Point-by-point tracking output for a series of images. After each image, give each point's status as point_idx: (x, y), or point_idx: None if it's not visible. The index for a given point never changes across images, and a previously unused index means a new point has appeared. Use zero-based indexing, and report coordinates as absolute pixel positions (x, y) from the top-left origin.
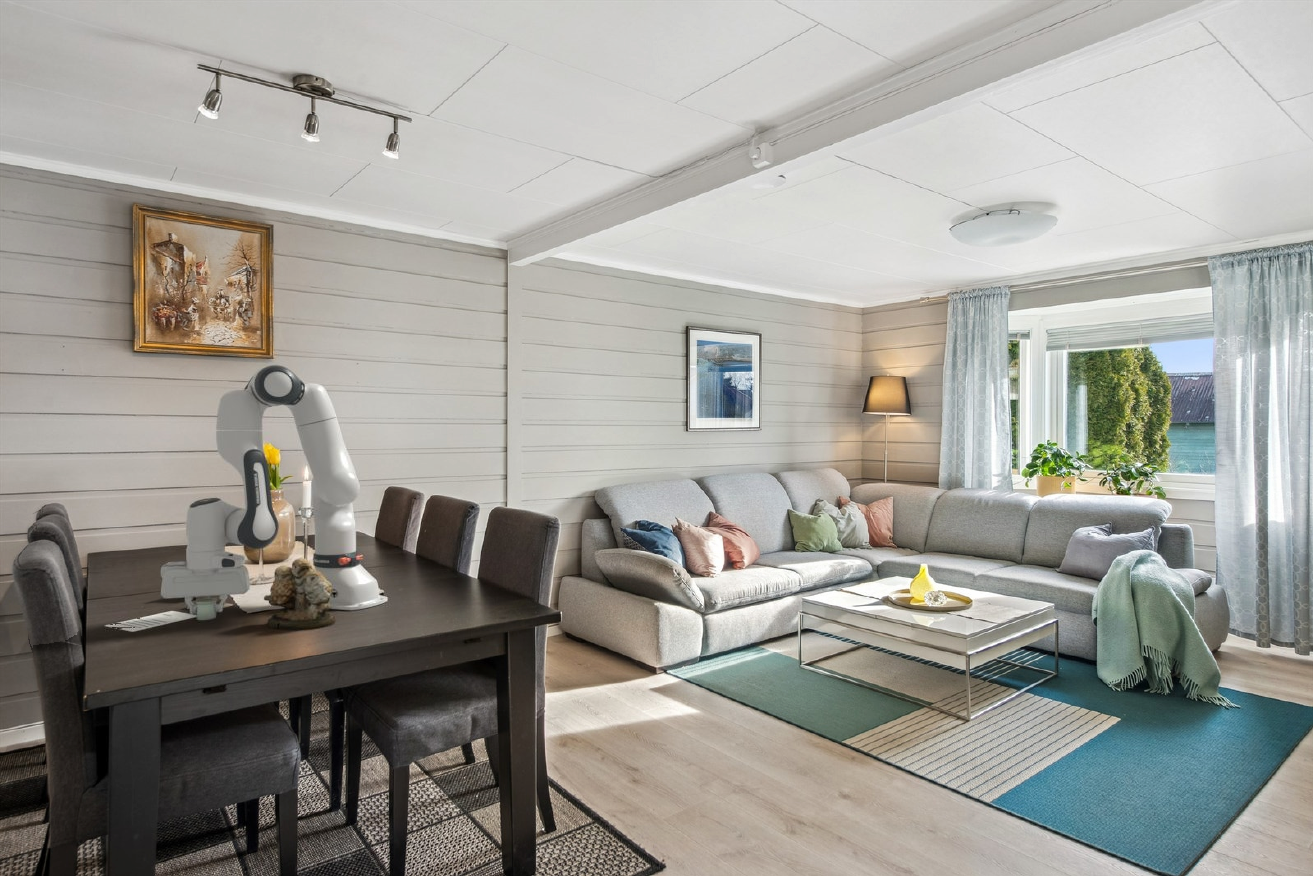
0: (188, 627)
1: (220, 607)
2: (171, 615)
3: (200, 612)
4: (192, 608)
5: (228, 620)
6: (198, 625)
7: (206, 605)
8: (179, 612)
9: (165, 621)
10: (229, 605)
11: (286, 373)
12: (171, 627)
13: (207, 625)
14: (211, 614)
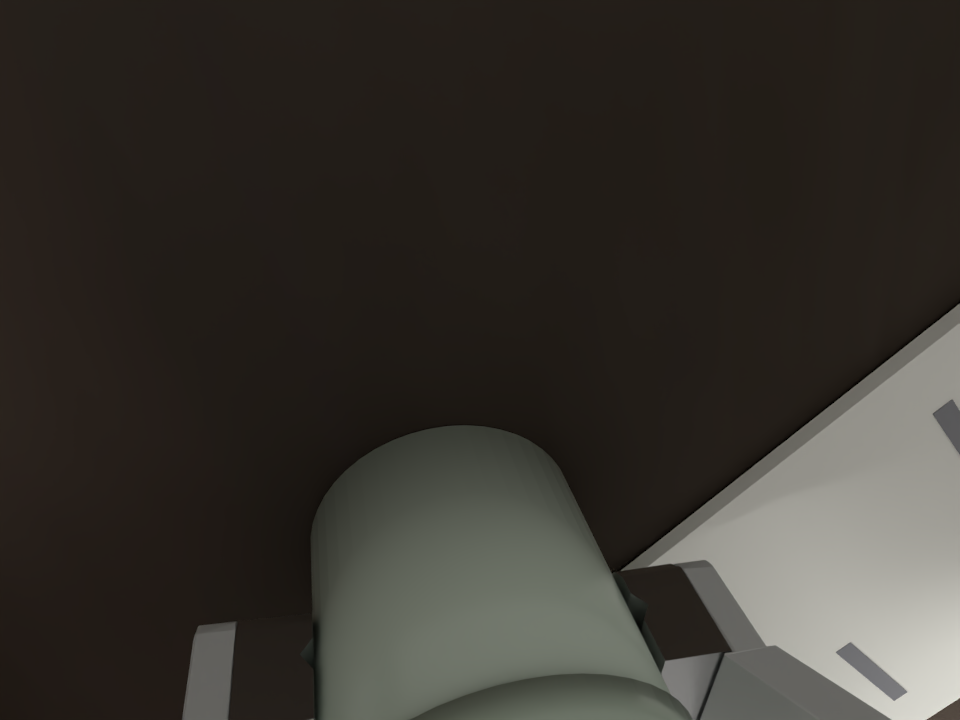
0: (655, 42)
1: (197, 702)
2: (843, 665)
3: (553, 540)
4: (715, 633)
5: (10, 409)
6: (493, 158)
7: (473, 668)
8: None
9: (939, 446)
10: None
11: None
12: (904, 147)
13: (309, 99)
14: (356, 537)
